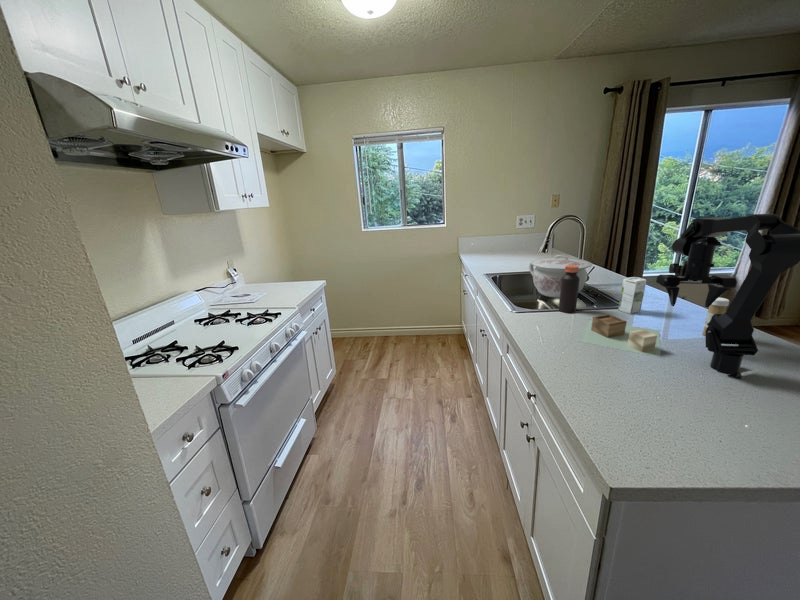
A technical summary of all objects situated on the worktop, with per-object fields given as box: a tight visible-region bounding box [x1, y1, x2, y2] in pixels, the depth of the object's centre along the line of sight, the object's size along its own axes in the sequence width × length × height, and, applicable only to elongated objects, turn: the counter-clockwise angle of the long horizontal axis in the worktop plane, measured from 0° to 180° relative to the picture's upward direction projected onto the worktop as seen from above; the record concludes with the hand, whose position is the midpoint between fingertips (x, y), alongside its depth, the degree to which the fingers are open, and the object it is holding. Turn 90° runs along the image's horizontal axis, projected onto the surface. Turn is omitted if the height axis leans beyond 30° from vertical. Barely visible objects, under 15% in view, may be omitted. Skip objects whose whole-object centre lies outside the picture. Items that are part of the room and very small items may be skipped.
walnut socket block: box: [591, 314, 628, 338], centre depth 114 cm, size 7×7×5 cm
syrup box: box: [617, 276, 647, 315], centre depth 134 cm, size 6×6×14 cm
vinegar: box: [558, 265, 580, 314], centre depth 137 cm, size 7×7×20 cm
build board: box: [579, 319, 661, 358], centre depth 112 cm, size 24×22×1 cm
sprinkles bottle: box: [701, 297, 730, 337], centre depth 108 cm, size 5×5×13 cm
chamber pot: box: [528, 254, 593, 299], centre depth 160 cm, size 28×28×21 cm
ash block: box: [628, 329, 657, 352], centre depth 103 cm, size 5×5×5 cm
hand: (689, 306), depth 104 cm, fingers open, 9 cm apart
